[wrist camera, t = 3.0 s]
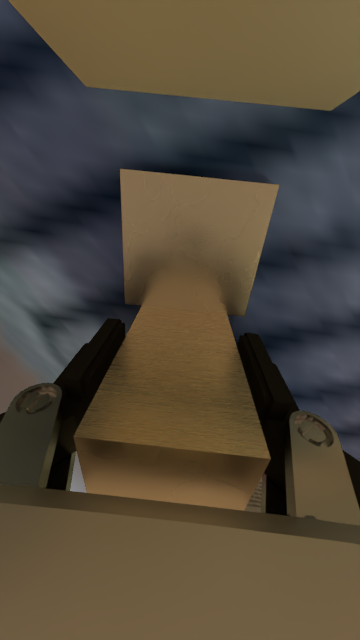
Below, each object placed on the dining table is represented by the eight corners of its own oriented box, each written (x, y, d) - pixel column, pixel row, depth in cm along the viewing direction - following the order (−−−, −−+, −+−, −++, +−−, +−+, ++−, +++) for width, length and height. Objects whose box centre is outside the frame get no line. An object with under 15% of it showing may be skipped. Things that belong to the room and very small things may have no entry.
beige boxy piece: (226, 372, 12) (257, 539, 6) (130, 362, 12) (66, 517, 6) (273, 186, 8) (550, 117, 2) (124, 171, 8) (-112, 52, 2)
